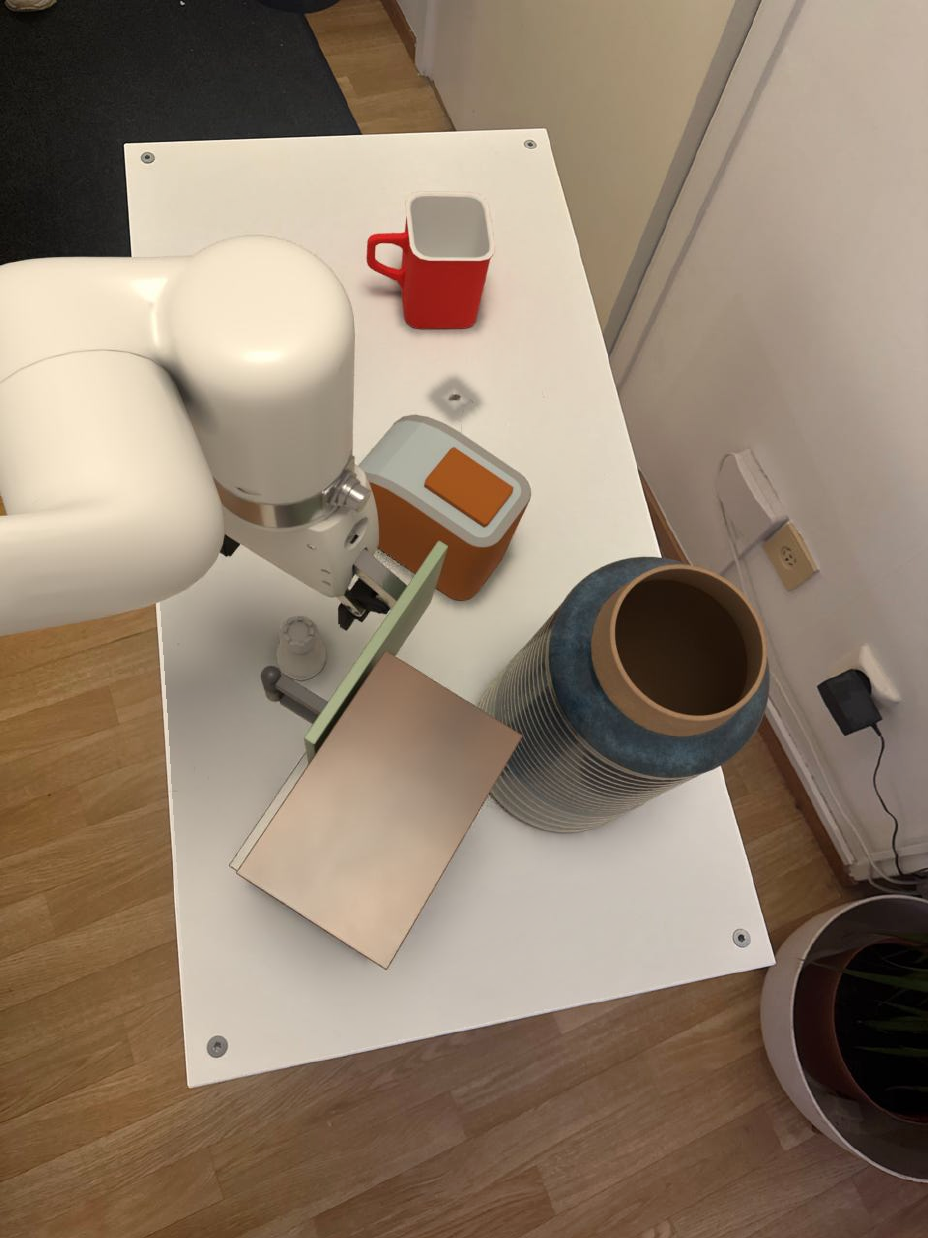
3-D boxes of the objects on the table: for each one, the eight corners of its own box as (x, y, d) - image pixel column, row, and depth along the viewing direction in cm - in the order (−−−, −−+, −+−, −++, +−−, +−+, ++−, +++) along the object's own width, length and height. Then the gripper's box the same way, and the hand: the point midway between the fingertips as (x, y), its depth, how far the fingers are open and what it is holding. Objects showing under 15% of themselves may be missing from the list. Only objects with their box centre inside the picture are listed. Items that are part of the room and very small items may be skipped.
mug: (471, 267, 97) (487, 191, 87) (480, 330, 94) (497, 260, 84) (361, 266, 95) (364, 189, 85) (367, 331, 92) (371, 260, 82)
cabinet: (255, 880, 73) (205, 854, 44) (348, 739, 78) (358, 632, 49) (365, 950, 73) (386, 970, 44) (452, 804, 78) (523, 735, 49)
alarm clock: (513, 544, 87) (544, 479, 74) (465, 609, 84) (489, 553, 71) (391, 460, 88) (400, 382, 75) (339, 521, 85) (340, 451, 72)
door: (247, 729, 57) (230, 692, 47) (366, 561, 61) (372, 498, 52) (317, 773, 56) (314, 745, 47) (431, 602, 61) (448, 545, 52)
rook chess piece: (333, 642, 81) (333, 614, 73) (317, 687, 79) (315, 663, 72) (286, 628, 81) (281, 598, 73) (269, 672, 79) (262, 647, 72)
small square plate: (452, 418, 91) (453, 412, 89) (433, 398, 91) (434, 392, 90) (473, 402, 91) (474, 396, 90) (454, 382, 92) (454, 376, 91)
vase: (664, 814, 80) (860, 753, 50) (491, 850, 77) (591, 806, 47) (619, 644, 85) (773, 497, 55) (454, 671, 82) (524, 530, 52)
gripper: (459, 486, 46) (429, 597, 62) (183, 319, 47) (224, 472, 63) (382, 599, 43) (371, 685, 59) (92, 420, 44) (159, 552, 60)
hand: (296, 575), depth 61 cm, fingers open, 9 cm apart
